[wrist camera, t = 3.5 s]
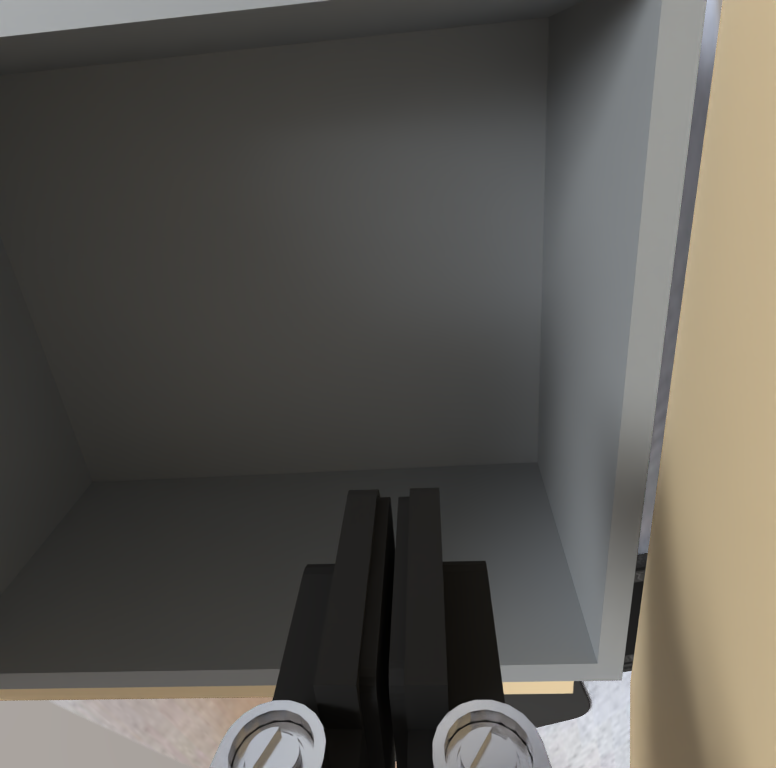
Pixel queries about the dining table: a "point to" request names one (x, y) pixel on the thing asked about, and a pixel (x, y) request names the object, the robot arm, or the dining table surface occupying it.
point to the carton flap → (719, 445)
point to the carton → (326, 318)
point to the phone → (550, 706)
